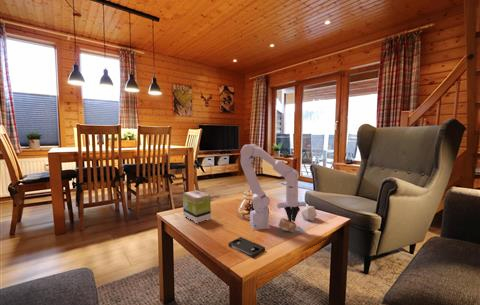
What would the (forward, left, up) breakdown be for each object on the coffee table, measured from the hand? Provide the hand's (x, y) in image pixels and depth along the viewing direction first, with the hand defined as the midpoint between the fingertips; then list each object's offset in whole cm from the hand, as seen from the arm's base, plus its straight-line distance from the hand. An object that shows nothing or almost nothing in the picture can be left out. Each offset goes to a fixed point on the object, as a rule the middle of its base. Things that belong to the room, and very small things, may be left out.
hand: (291, 221), depth 114 cm
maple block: (+1, 0, -3) cm, 3 cm away
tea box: (-46, +30, -6) cm, 55 cm away
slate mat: (-1, 0, -5) cm, 5 cm away
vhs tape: (-26, -11, -6) cm, 29 cm away
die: (+16, +13, -6) cm, 21 cm away
